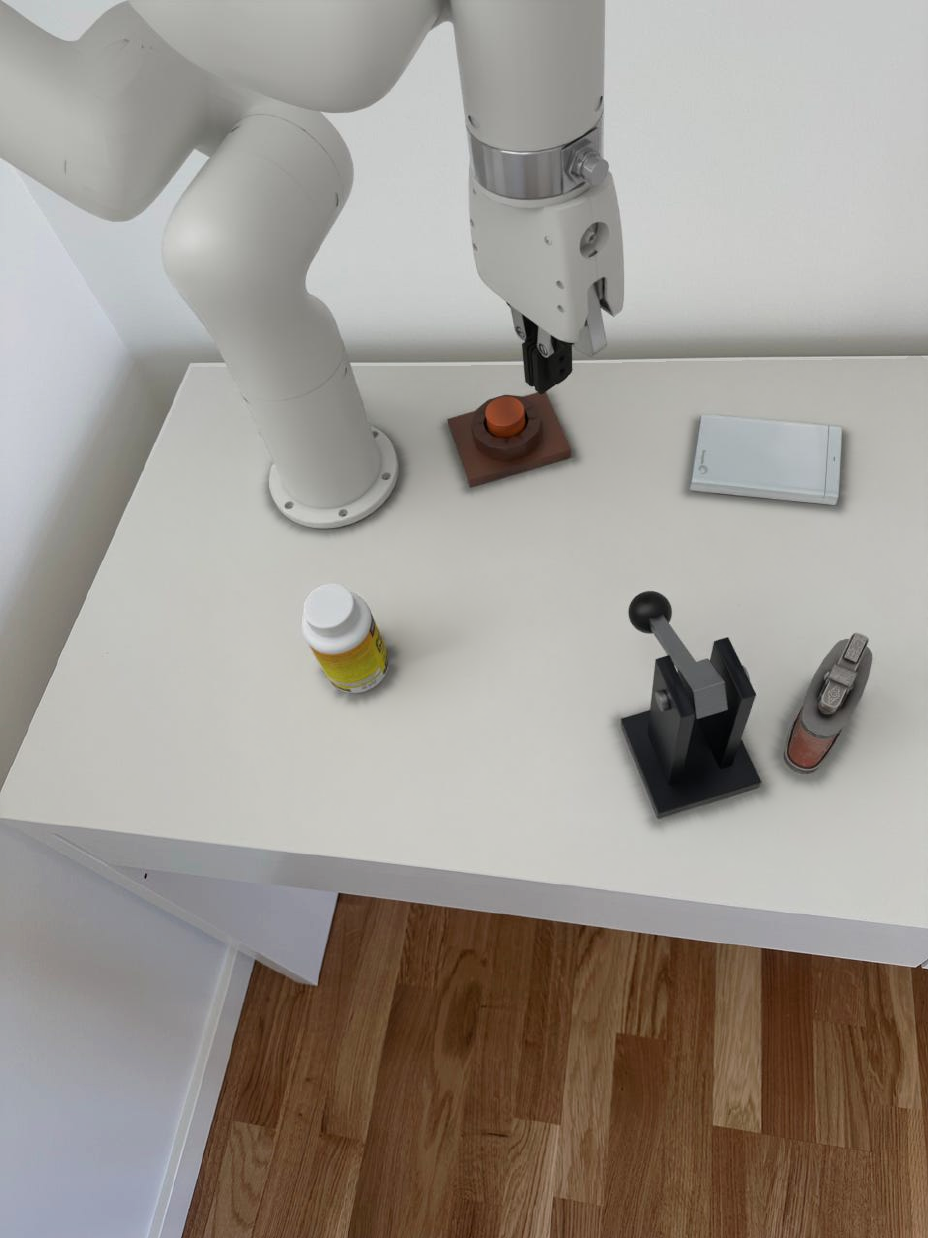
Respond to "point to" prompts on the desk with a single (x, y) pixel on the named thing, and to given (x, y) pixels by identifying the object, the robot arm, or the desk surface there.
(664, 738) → the bracket
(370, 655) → the supplement bottle
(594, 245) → the robot arm
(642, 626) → the lever
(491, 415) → the button
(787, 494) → the hard drive
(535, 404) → the button block
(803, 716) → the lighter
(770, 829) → the desk surface
